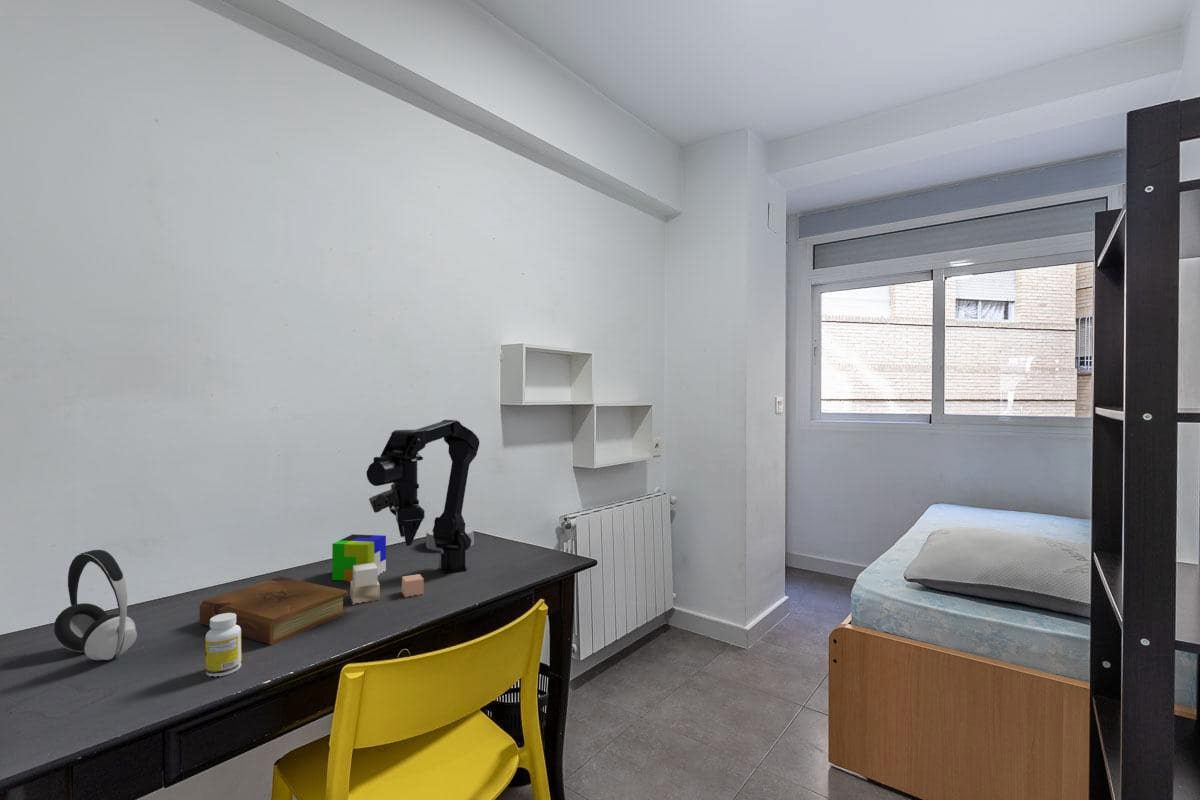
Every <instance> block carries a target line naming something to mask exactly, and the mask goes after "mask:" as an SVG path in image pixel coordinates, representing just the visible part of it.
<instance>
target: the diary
mask: <svg viewBox="0 0 1200 800" xmlns="http://www.w3.org/2000/svg"><path fill="white" fill-rule="evenodd" d="M345 596H348V590H346V589H341V588H338V587H337V588H336V587H332V586H327V585H322V584H318V583H313V582H309V581H304V580H300V579H294V578H290V577H286V576H281V575H280V576H277V577H274V578H271V579H268V580H264V581H261V582H258V583H255V584H251V585H249V586H245V587H243V588H239V589H235V590H233V591H230V592H226V593H223V594H220V595H217V596H212V597H210V598H207V599H204V600H203V601H202V602H201V603H200V605H199V624H200V625H202V624H203V626H205V625H206V627H209V628H210V619H211V618H212V617H214V616H216V615H219V614H224V613H235V614H236V623H235V624H236V625H238V626H240V628H241V638H242V637H243V638H246V639H249V640H253V641H256V642H258V643H259V642H260V643H263V644H266V645H270V646H273V645H275V643H276V644H278V643H280V642H283V641H284V640H287V639H289V637H290V638H292V637H294V636H297V635H299V634H301V633H304V632H306V631H308V630H310V629H313V628H315V627H317V626H320V625H322V624H324V623H327V622H329V621H332V620H333V619H334V620H335V618H339V617H340V615H341V616H343V615H345V613H346V614H348V611H347V610H345V609H344V597H345ZM338 616H339V617H338ZM303 631H304V632H303ZM296 634H297V635H296ZM282 640H283V641H282ZM277 642H278V643H277Z"/></svg>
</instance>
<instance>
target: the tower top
mask: <svg viewBox="0 0 1200 800" xmlns="http://www.w3.org/2000/svg"><path fill="white" fill-rule="evenodd" d="M378 576H379V575H378V568H377V566H376V564H375V563H368V564H360V565H353V583H354V586H355V588H357V587H364V586H370V585H376V584H378V582H379V580H378Z"/></svg>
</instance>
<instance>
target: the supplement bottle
mask: <svg viewBox="0 0 1200 800" xmlns="http://www.w3.org/2000/svg"><path fill="white" fill-rule="evenodd" d="M235 623H236V614H235V613H224V614H219V615H216V616H214V617H212V618H211V619H210V627H209V628H210V629H209V630H208V631H207V632H206V634H205V640H204V641H205V673H206V675H207V676H208V677H211V676H214V678H216V677H217V676H219V677H224V676H228V675H231V674H233V673H235V672H236V671H238V670H239V669H240V668H241V667H242V663H243V662H242V661H243V660H242V659H243V657H242V636H241V628H240V626H238V625H236V624H235Z"/></svg>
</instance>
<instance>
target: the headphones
mask: <svg viewBox="0 0 1200 800" xmlns="http://www.w3.org/2000/svg"><path fill="white" fill-rule="evenodd" d="M90 562H91V563H93V564H94V565H96V566H97V567H98V568H100V569H101V571H102V572H103V574H104V575H105V577H106V579H107V580H108V582H109V584H110V586H111V589H112V590H113V593H114V596H115V599H116V603H117V608H118V613H111V614H108V613H107V612H106V611H105V610H104V609H103V608H102V607H101V606H98V605H96V604H92V603H88V602H87V603H86V602H85V603H78V589H79V582H80V579H81V576H82V573H83V571H84V569H85V567H86V566H87V565H88V564H89V563H90ZM120 566H121V565H119V563H118V561H117V559H116V558H115V556H113V554H112V553H110V552H108V551H107V550H103V549H92V550H89V551H84V552H82V553H79V554H77V555H76V556H75V557H74V558H73V559H72V560H71V563H70V565H69V567H68V574H67V589H68V595H69V602H70V606H68V607H66V608H65V609H63V610H62V611H61V612H60V613H59V614H58V615H57V617H56V619H55V620H54V623H53V634H54V636H55V639H56V640H57V642H58V643H59V644H60V645H61V646H62V647H64V648H65V649H66V650H69V651H71V652H72V651H73V652H77V653H83V654H85V655H86V656H87V658H88V659H90V660H94V661H103V660H104V661H105V660H106V661H109V660H112V659H113V658H114V657H115V656H120V655H122V654H123V653H125V652H126V651H127V650H128V649H129V648H131V646H132V645H133V644H134V643H135V641H136V640H137V637H138V632H137V629H136V624H135V621H134V620H133V619H132V618H131V617H129V616H127V612H128V592H127V584H126V580H125V576H124V572H123V569H121V567H120Z"/></svg>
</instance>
